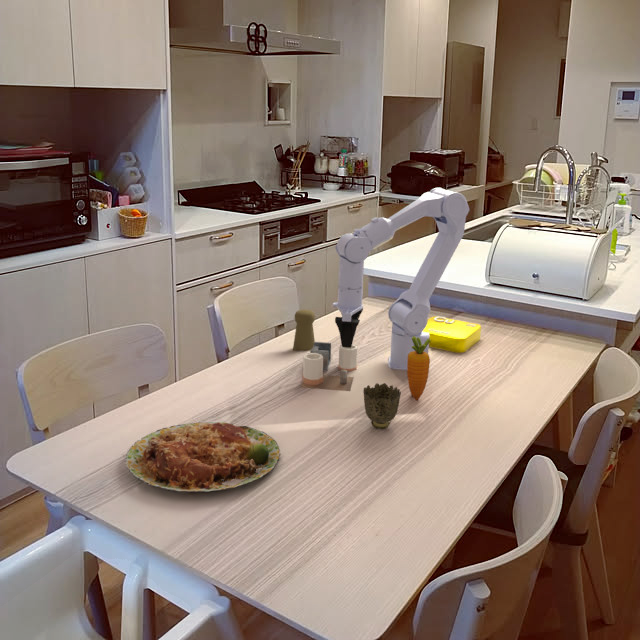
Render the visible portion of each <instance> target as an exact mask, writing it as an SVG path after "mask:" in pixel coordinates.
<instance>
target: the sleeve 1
mask: <svg viewBox="0 0 640 640" xmlns="http://www.w3.org/2000/svg"><path fill="white" fill-rule="evenodd" d="M302 365H303V367H302V372H303V373H302V383H303V382H304V383H306V384H309V385H318V384H320V383H322V382H323V375H324V372H323V371H324V370H323V356H322V355H321V354H317V353H310V352H308V353H306V354H304V355H303V363H302Z"/></svg>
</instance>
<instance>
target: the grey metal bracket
mask: <svg viewBox="0 0 640 640" xmlns="http://www.w3.org/2000/svg"><path fill="white" fill-rule="evenodd" d="M309 353H317V354H321V355H322V356H323V371H326V372H327V371H329V368H330V365H331V362H332V361H331V360H332V342H323V341H315V342H314V346H313V348H312V350H309Z"/></svg>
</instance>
